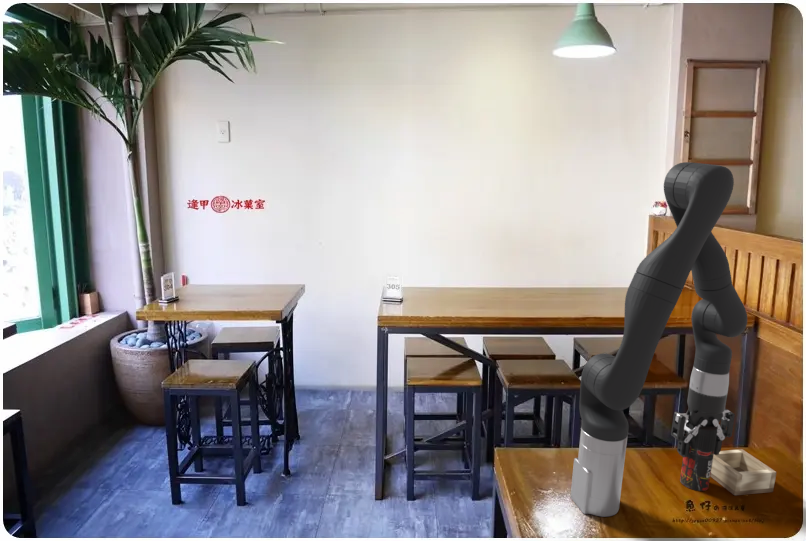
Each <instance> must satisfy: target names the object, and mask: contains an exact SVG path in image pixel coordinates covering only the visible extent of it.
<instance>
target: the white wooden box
mask: <svg viewBox="0 0 806 541" xmlns="http://www.w3.org/2000/svg"><path fill="white" fill-rule="evenodd" d="M776 477H777V471H775V470H774V469H773V468H771V467H770V466H769V465H767V464H765V463H763V462H762V461H760V459H758V458H756V457H755V456H753V455H752V454H751V453H748V452H747V451H746V450H744V449H742V448H740V449H729V450H721V451H720V452H719V455H713V462H712V468H711V475H710V478H712V479H713V480H714V481H716V482H717V483H718V484H719V485H721V486H722V487H723V488H724V489H726V490H727V491H728V492H729V493H731V494H732V495H734V496H743V495H744V496H745V495H752V494H753V495H754V494H763V493H764V494H765V493H774V488H775V482H776Z"/></svg>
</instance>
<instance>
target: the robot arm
mask: <svg viewBox="0 0 806 541" xmlns="http://www.w3.org/2000/svg"><path fill="white" fill-rule="evenodd" d="M663 182H664V183H663V193H664V198H665V201H666V203H667V207H668V208H669V211H670V213H671V215H672V218H673V220H674V224H675V226H676V228H675V230H674V231H673V232H672V233H671V234H670V235H669V236H668V237H667V238H666V239H665V240H664V241H662V242H661V243H660V244H659V245H658V246H657V247H656V248H654V249H653V250H652V251H651V252H649V254H648V255H646V256H645V257H644V258H643V259H642V260H641V262H640V263H639V264H638V266H637V268H636V270H635V272H634V274H633V277H632V279H631V281H630V284H629V285H628V288H627V291H626V294H625V298H624V299H625V300H624V326H623V335H622V338H621V339H622V340H621V342H620V346H619V348H618V350H617V352H616V355H612V354H610V353H604V352H602V353H598V354H594V355H593V356H591V357H590V358H589V359H587V361H586V363H585V365H584V367H583V369H582V372H581V376H580V388H579V404H578V405H579V406H578V407H579V409H578V410H579V414H580V418H581V427H580V435H579V436H580V437H579V446H578V455H577V456H578V457H575V458H573V468H572V474H571V476H572V477H571V489H570V495H569V496H570V498H571V500H572V501H573V503H574V504H575V505H576V506H577V507H578V509H579V510H580V511H581V513H582V514H585V515H586V514H587V515H588V514H589V515H592V516H597V517H603V518H604V517H607V518H608V517H612V516H615V515H616V514H617V513H618V512H619V509H620V504H621V502H620V501H621V494H622V484H623V477H624V467H625V460H626V450H627V444H628V435H629V427H630V425H629V421H628V419H627V417H626V416H625V414H624V411H623V410H626V409H628V408H630V407H631V406H632V405H633V404H634V403H635V402H636V401H637V399H638V398H639V396H640V394H641V392H642V390H643V387H644V386H645V383H646V379H647V376H648V372H649V370H650V367H651V364H652V360H653V358H654V354H655V352H656V349H657V347H658V344H659V342H660V340H661V338H662V336H663V333H664V331H665V329H666V325H667V324H668V321H669V319H670V317H671V314H672V313H673V311H674V309H675V307H676V306H677V303H678V301H679V298H681V294H682V292H683V290H684V287H685V286H686V282H687V280H688V277H689V275H690V274H691V275H692V281H693V286H694V290H695V294H696V295H697V296H698V297H699V298H701V299H700V300H699V301H697V302H696V304H695V305H694V306H693V308H692V311H691V326H692V327H691V328H692V334H693V339H694V346H695V352H694V353H695V354H694V359H693V360H694V362H693V367H692V369H691V370H692V371H691V374H690V379H689V387H688V393H687V406H688V409H687V411H686V413H680V412H679V411H674V413H673V418H672V425H671V430H670V435H671V437H673V438H675V439H676V440H678V441H677V448H676V451H677V453H678V454H679V456H681V457H682V458H683V457H687V456H688V449H689V441H690V440H691V438H692V437H693V436H696V435H697V434H698V430H699V428H702V427H707V426H713V427H718V429H717V436H716V442H715V449H714V455H719V452H720V451H722V445H723V441H724V440H725V439H726V438H727V437H728V438H731V437H732V436H733V430H734V422H735V413H733V412H732V411H731V410H729V409H727V408H726V405H727V404H726V403H727V398H728V392H729V385H730V370H731V363H732V356H733V351H732V348H731V347H730V346H729V345H728V344H727V343H724V342H723V341H721V340H720V339H719V338H718V336H717V335H720V336H723V337H726V338H736V337H739V336H740V335H741V334H743V333H744V332H745V330H746V328H747V325H748V313H747V311H746V310H747V309H746V308H745V305H744V303H743V301H742V299H741V298H740V296H739V294H738V292H737V290H736V288H735V286H734V285H733V282H732V281H733V280H732V275H731V269H730V268H731V267H730V264H729V261H728V260H729V259H728V257H727V255H726V252H725V251H724V249H723V247H722V245H721V244H720V242H719V241H718V240H717V238H716V237H715V235H714V234H713V233H712V231H713V229H714V228H715V226H716V224H717V222H718V221H719V219H720V218H721V215H722V214H723V213H724V210H725V209H726V207H727V205H728V203H729V201H730V199H731V196H732V194H733V189H734V185H735V184H734V183H735V181H734V175H733V172H732V171H731V170H730V169H729V168H728V167H727V166H723V165H718V164H711V163H701V162H689V161H687V162H686V161H685V162H680V163H677V164H675V165H673V166H672V167H671V168H670V169H669V170H668V172H667V173H666V175H665V178H664V181H663ZM689 423H690V424H691V425H693V426H694V429H693V430H691V429H689V428H688V425H689ZM719 423H720V424H719ZM687 432H688V434H687ZM686 434H687V435H686Z"/></svg>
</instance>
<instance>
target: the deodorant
mask: <svg viewBox="0 0 806 541" xmlns="http://www.w3.org/2000/svg"><path fill="white" fill-rule="evenodd" d="M688 428H689V429H691V430H693V429H694V426H693V425H691V424H690V423H689V425H688ZM717 429H718V427H713V426H707V427H702V428H699V430H698V434H697V435H696V436H693V437H692V438H691V440H690V441H689V449H688V456H687V457H682V461H681V462H682V463H681V464H682V465H681V470H680V477H679V481H680V483H681V485H683V486H684V487H686V488H688V489H690V490H692V491H696V492H705V491H707V490H708V489H709V487H710V486H709V485H710V481H711V476H710V475H711V468H712V462H713V455H714V449H715V442H716V436H717ZM687 434H688V432H687V433H686V434H685V436H686V435H687Z"/></svg>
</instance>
